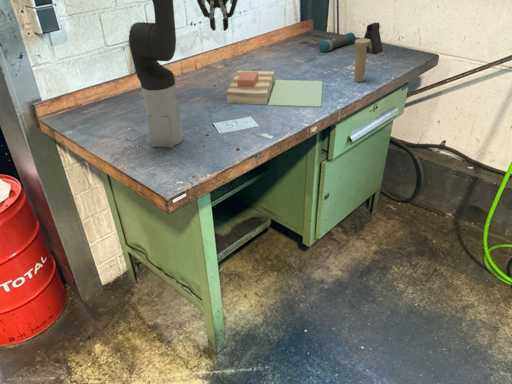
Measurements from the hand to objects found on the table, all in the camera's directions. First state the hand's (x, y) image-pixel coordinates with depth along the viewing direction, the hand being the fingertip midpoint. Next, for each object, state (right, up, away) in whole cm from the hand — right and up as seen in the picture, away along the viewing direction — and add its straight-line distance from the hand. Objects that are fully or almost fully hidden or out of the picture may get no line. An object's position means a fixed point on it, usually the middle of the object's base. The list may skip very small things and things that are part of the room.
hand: (219, 29), depth 145 cm
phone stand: (+64, +9, +49) cm, 81 cm away
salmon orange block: (+9, -16, +9) cm, 20 cm away
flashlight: (+50, +12, +55) cm, 75 cm away
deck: (+11, -18, +12) cm, 24 cm away
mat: (+27, -19, +10) cm, 35 cm away
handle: (+51, -13, +18) cm, 56 cm away
